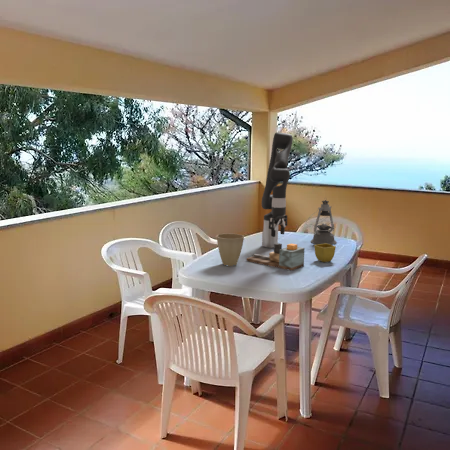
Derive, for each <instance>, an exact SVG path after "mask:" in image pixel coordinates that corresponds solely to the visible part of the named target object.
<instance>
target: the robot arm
mask: <svg viewBox="0 0 450 450" xmlns="http://www.w3.org/2000/svg"><path fill="white" fill-rule="evenodd" d="M293 137H294V136H293V134H291V133H286V132H279V131H277V132H275V133H274V134H273V138H272V146H271V154H270V160H269V165H268V167H267V175H266V181H265V186H264V190H263V193H262V197H261V208H262V209H263V210H271V211H270V212H269V213H266V214H264V215H263V230H262V233H261V246H262V247H264V248H270V249H271V248H273V249H274V244H276V243H279V233H280V235H285V229H286V227H288V215H286V213H287V212H286V211H287V210H286V209H287V200H286V198H287V195H286V194H287V186H288V183H289V180H290V177H291V173H290V170H289V169H288V162H289V156H290V154H291V149H292V146H293V142H294V141H293V140H294V139H293ZM278 149H279V150H280V152H278ZM281 150H282V151H281ZM279 183H282V184H281V185H279ZM279 227H280V232H279Z"/></svg>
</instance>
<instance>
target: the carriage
mask: <svg viewBox="0 0 450 450" xmlns="http://www.w3.org/2000/svg"><path fill="white" fill-rule="evenodd" d="M280 249H283V245H282V243H279V242H278V243H276V244H274V248H273V251H270V252H269V255H268V256H269V258H270V260H271V261H276V262H279V251H280Z"/></svg>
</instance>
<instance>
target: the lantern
mask: <svg viewBox="0 0 450 450" xmlns="http://www.w3.org/2000/svg"><path fill="white" fill-rule="evenodd" d="M321 203H322V204H320V206H319V207H318V208H317V210H316V212H314V213H312V214H311V215H310V216H309V218H308V219H310V218H311V217H312V215H314V214H316V213H317V217H316V220H315V224H313V225H308V224H307V222H308V220H306V222H305V225H307V226H308V227H309V228H310V227H313V231H314V234H313V238H312V239H311V240H310V243H311V244H313V245H318V244H325V243H326V244H330V245H332V244H334V245H336V244H338V242H337V241H336V239H335V234H334V233H332V232H334V231H335V224H334V220H333V216H332V210H331V209H332V205H330V204H329V203H330V202H329V200H327V198H325V199H324V200H321ZM320 217H324V218H322V219H321V218H320ZM327 218H329V219H330V221H329V222H330V223H329V224H327V223H324V221H325V222H326V219H327ZM320 220H321V221H320ZM319 221H320V222H319ZM322 221H323V222H322ZM320 224H321V225H320ZM330 225H331V226H330Z"/></svg>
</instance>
